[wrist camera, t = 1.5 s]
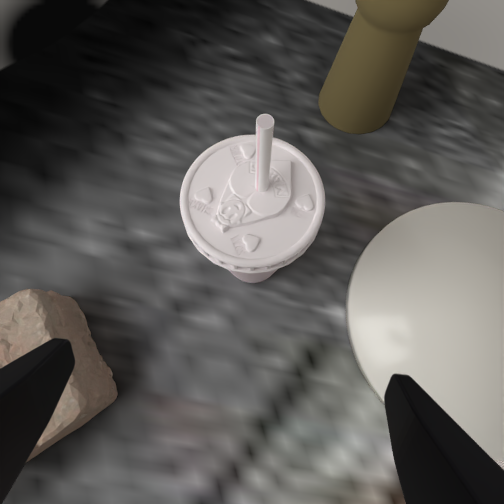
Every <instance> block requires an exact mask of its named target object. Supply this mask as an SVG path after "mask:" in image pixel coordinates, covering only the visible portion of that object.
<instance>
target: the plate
mask: <svg viewBox="0 0 504 504" xmlns="http://www.w3.org/2000/svg"><path fill="white" fill-rule="evenodd" d="M345 309H346V325H347V331H348V337H349V341H350V344H351V348H352V351H353V354H354V357H355V359H356V361H357V364H358V366H359V369H360V371H361V372H362V374H363V376H364V378H365V379H366V381H367V383H368V385H369V386H370V387H371V389H372V390H373V391H374V393H375V394H376V395H377V397H378V398H379V400H380V401H381V402H382V403H383V404H384V405H385V403H384V395H385V391H386V388H387V386H388V383H389V381H390V378H391V376H392V375H393V374H395V373H396V374H406V375H409V376H410V377H412V378H413V379H414V380H415V381H416V382H417V383H418V384H419V385H420V386H421V387H422V388H423V389H424V390H425V391H426V392H427V393H428V394H429V395H430V396H431V397H432V399H433V400H434V401H435V402H436V403H437V404H438V405H439V406H440V407H441V408H442V409H443V410H444V411H445V412H446V413H447V414H448V415H449V416H450V417H451V418H452V419H453V420H454V421H455V422H456V423H457V424H458V425H459V426H460V427H461V428H462V429H463V430H464V431H465V432H466V433H467V434H468V435H469V436H470V437H471V438H472V439H473V440H474V441H475V442H476V443H477V444H478V445H479V446H480V447H481V448H482V449H483V450H484V451H485V452H486V453H487V454H488V455H489V456H490V457H491V458H492V459H493V460H494V461H504V211H502V210H499V209H496V208H492V207H488V206H485V205H479V204H473V203H463V202H448V203H437V204H432V205H427V206H423V207H420V208H417V209H415V210H412V211H410V212H408V213H406V214H404V215H402V216H400V217H398V218H397V219H395V220H394V221H392V222H391V223H389V224H388V225H387V226H386V227H385V228H384V229H382V230H381V231H380V232H379V233H378V234H377V235H376V236H375V237H374V238H373V239H372V240H371V241H370V242H369V243H368V245H367V246H366V247H365V249H364V250H363V251H362V253H361V255H360V256H359V258H358V260H357V262H356V263H355V266H354V268H353V271H352V273H351V276H350V280H349V284H348V288H347V295H346V304H345Z"/></svg>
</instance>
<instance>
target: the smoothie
mask: <svg viewBox="0 0 504 504" xmlns="http://www.w3.org/2000/svg"><path fill="white" fill-rule="evenodd" d="M273 129H274V119H273V117H272V116H270V115H268V114H262V115H260V116H259V117H258V118H257V120H256V135H242V136H236V137H232V138H229V139H226V140H223V141H221V142H219V143H217V144H215V145H213V146H211V147H210V148H208V149H207V150H206V151H204V152H203V153H202V154H201V155H200V156H199V157H198V158H197V159H196V160H195V161H194V163H193V164H192V165H191V167H190V168H189V170H188V172H187V174H186V176H185V178H184V181H183V183H182V187H181V193H180V210H181V215H182V219H183V222H184V225H185V228H186V231H187V234H188V236H189V238H190V239H191V241H192V242H193V244H194V245H195V246H196V248H197V249H198V251H199V252H200V253H202V254H203V255H204V256H205V257H207V258H208V259H209V260H210V261H212V262H213V263H214V264H217V265H219V266H221V267H224V268H226V269H228V270H229V271H230V272H231V273H232V274H233V275H234V276H235V277H237V278H238V279H240V280H242V281H244V282H248V283H257V282H261V281H264V280H266V279H267V278H269V277H270V276H271V275H272V274H273V273H274V272H275V271H276V270H277V269H278V268H281V267H284V266H286V265H288V264H290V263H291V262H293V261H294V260H295V259H297V258H298V257H300V256H301V255H302V254H303V253H304V252H305V251H306V250H307V248H308V247H309V246H310V245H311V243H312V242H313V241H314V240H315V237H316V235H317V232H318V230H319V227H320V225H321V222H322V219H323V215H324V209H325V192H324V187H323V183H322V180H321V178H320V175H319V173H318V171H317V170H316V168H315V167H314V165H313V164H312V162H311V161H310V160H309V159H308V158H307V157H306V156H305V155H304V154H303V153H302V152H301V151H299V150H298V149H297V148H295V147H294V146H292V145H290V144H288V143H287V142H284V141H282V140H279V139H276V138H273Z"/></svg>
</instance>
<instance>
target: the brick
mask: <svg viewBox="0 0 504 504" xmlns="http://www.w3.org/2000/svg"><path fill="white" fill-rule="evenodd" d="M53 338H62V339H68V340H69V341H70V342H71V345H72V349H73V353H74V357H75V366H74V369H73V372H72V374H71V376H70V378H69V380H68V383H67V385H66V387H65V389H64V391H63V394H62V396H61V398H60V400H59V402H58V404H57V407H56V409H55V411H54V413H53V415H52V417H51V419H50V421H49V423H48V425H47V427H46V429H45V430H44V432H43V434H42V435H41V437H40V439H39V441H38V442H37V444H36V446H35V448H34V449H33V451H32V453H31V454H30V456H29V458H28V460H27V461H26V462H28V461H29V460H31V459H32V458H34V457H35V456H37V455H38V454H40V453H41V452H42V451H44V450H45V449H47V448H48V447H50V446H51V445H53V444H54V443H56V442H57V441H59V440H60V439H62V438H63V437H65V436H66V435H68V434H70V433H71V432H73V431H74V430H76V429H78V428H80V427H81V426H83V425H84V424H85V423H87V422H88V421H89V420H90V419H92V418H93V417H94V416H95V415H97V414H98V413H99V412H101V411H102V410H103V409H105V408H106V407H107V406H109V405H110V404H112V403H113V402H114V401H115V400H116V398H117V395H118V393H117V388H116V383H115V382H114V380H113V378H112V375H113V374H112V371H111V369H110V368H109V367H108V366H107V365H106V362H104V361H103V359H102V356H101V355H100V354H99V352H98V350H97V348H96V344H95V342H94V341H93V338H91V332H90V330H89V328H88V326H87V321H86V318H85V315H84V313H83V312H82V311H81V309H80V308H79V306H78V304H77V302H76V301H75V300H74V299H72V298H71V297H70V296H61V295H60V294H58V293H56V292H54V291H49V292H45V291H43V290H37V289H26V290H22V291H19V292H18V293H16V294H14V295H12V296H11V297H9V298H7V299H5V300H3V301H1V302H0V368H2V367H4V366H5V365H7V364H9V363H10V362H12V361H14V360H16V359H17V358H19V357H21V356H23V355H24V354H26V353H28V352H30V351H31V350H33V349H35V348H37V347H38V346H40V345H42V344H44V343H45V342H47V341H49V340H51V339H53Z"/></svg>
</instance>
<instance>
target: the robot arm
mask: <svg viewBox="0 0 504 504" xmlns="http://www.w3.org/2000/svg"><path fill="white" fill-rule="evenodd" d="M74 366H75V357H74V353H73V349H72V345H71V342H70V341H69V340H68V339H62V338H53V339H51V340H49V341H47V342H45V343H44V344H42V345H40V346H38V347H37V348H35V349H33V350H31V351H30V352H28V353H26V354H24V355H23V356H21V357H19V358H17V359H16V360H14V361H12V362H10V363H9V364H7V365H5V366H4V367H2V368H0V504H2V503H3V501H4V499H5V498H6V496H7V494H8V492H9V491H10V489H11V487H12V485H13V484H14V482H15V480H16V479H17V477H18V475H19V473H20V472H21V470H22V468H23V467H24V465H25V463H26V461H27V460H28V458H29V456H30V454H31V453H32V451H33V449H34V448H35V446H36V444H37V442H38V441H39V439H40V437H41V435H42V434H43V432H44V430H45V429H46V427H47V425H48V423H49V421H50V419H51V417H52V415H53V413H54V411H55V409H56V407H57V404H58V402H59V400H60V398H61V396H62V394H63V391H64V389H65V387H66V385H67V383H68V380H69V378H70V376H71V374H72V372H73V369H74ZM384 403H385V409H386V415H387V421H388V427H389V433H390V439H391V445H392V451H393V456H394V461H395V465H396V469H397V473H398V476H399V480H400V484H401V487H402V491H403V495H404V498H405V502H406V504H504V470H503V469H502V468H501V467H500V466H499V465H498V464H497V463H496V462H495V461H494V460H493V459H492V458H491V457H490V456H489V455H488V454H487V453H486V452H485V451H484V450H483V449H482V448H481V447H480V446H479V445H478V444H477V443H476V442H475V441H474V440H473V439H472V438H471V437H470V436H469V435H468V434H467V433H466V432H465V431H464V430H463V429H462V428H461V427H460V426H459V425H458V424H457V423H456V422H455V421H454V420H453V419H452V418H451V417H450V416H449V415H448V414H447V413H446V412H445V411H444V410H443V409H442V408H441V407H440V406H439V405H438V404H437V403H436V402H435V401H434V400H433V399H432V397H431V396H430V395H429V394H428V393H427V392H426V391H425V390H424V389H423V388H422V387H421V386H420V385H419V384H418V383H417V382H416V381H415V380H414V379H413V378H412V377H410V376H409V375H406V374H396V373H395V374H393V375H392V376H391V378H390V381H389V383H388V386H387V388H386V391H385V395H384Z"/></svg>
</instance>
